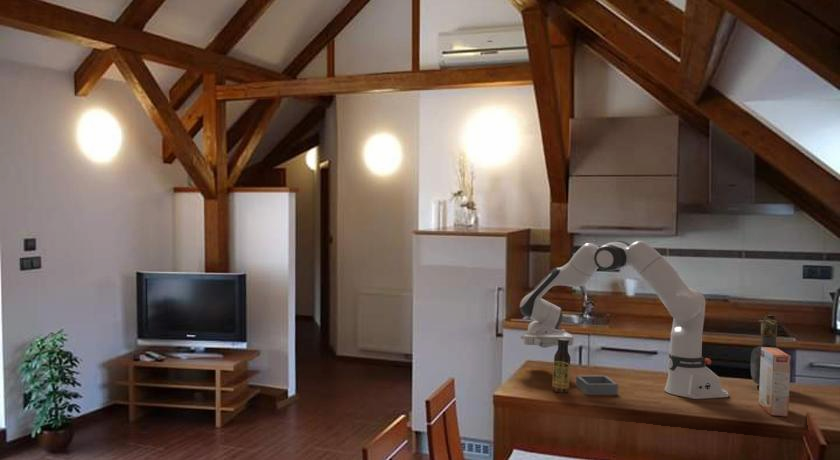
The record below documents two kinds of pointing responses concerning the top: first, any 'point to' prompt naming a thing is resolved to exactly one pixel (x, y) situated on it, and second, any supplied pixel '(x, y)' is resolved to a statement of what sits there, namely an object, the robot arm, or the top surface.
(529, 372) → the top surface
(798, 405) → the top surface
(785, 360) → the cracker box
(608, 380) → the bottle collar
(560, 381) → the sauce bottle
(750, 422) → the top surface
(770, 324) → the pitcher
